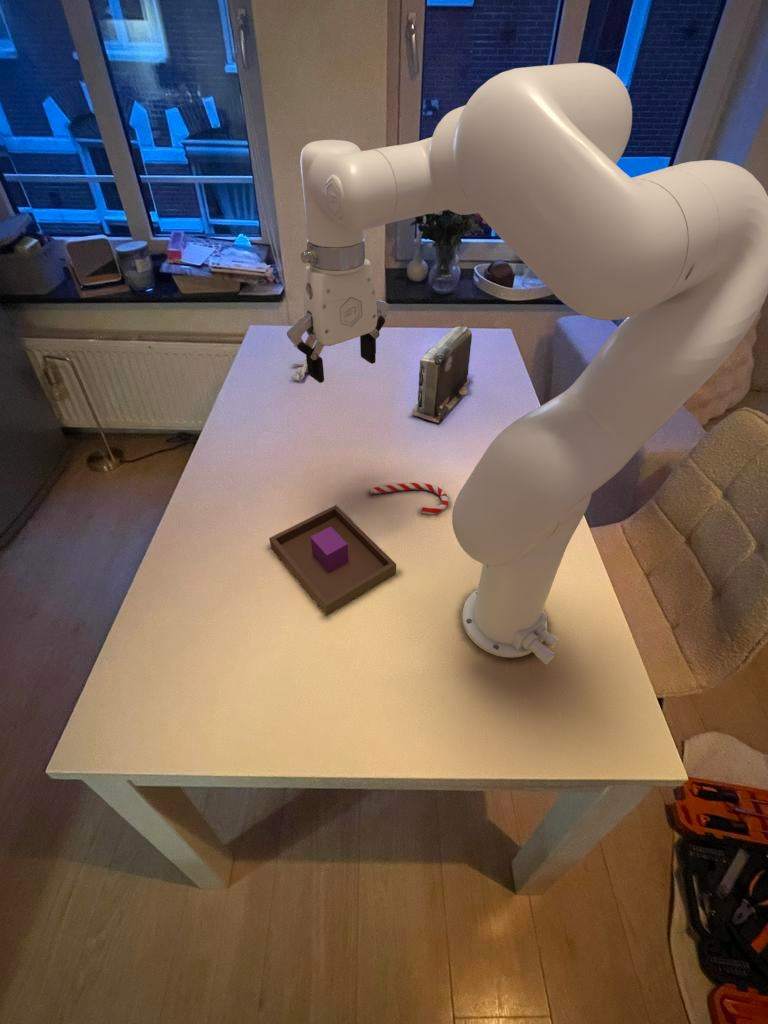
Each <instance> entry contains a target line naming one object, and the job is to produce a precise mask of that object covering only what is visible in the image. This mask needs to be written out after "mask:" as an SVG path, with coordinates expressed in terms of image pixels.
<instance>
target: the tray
mask: <svg viewBox="0 0 768 1024" xmlns="http://www.w3.org/2000/svg"><path fill="white" fill-rule="evenodd" d="M330 526H331V527H332V528H333V529H334V530H335V531H336V532H337V534H338V535H339V536H340V537H341V538H342V539H343V540H344V541H345V542H346V543H347V544H348V559H349V562H347V563H345V564H344V565H342V566H340V567H338V568H336V569H335V570H333V571H331V572H329V573H328V571H327V570H326V569H325V568H324V567H323V566H322V565H321V563H320V562H319V561H318V560H317V559H316V558H315V557H314V555H313V553H312V546H311V538H310V537H311V536H313V535H315V534H317V533H319V532H321V531H323V530H325V529H327V528H328V527H330ZM268 540H269V544H270V549H271V550H273V552H274V553H275V554H276V556H277V557H278V558H279V560H280V561H282V563H283V564H284V565H285V567H286V568H287V569H288V571H289V572H290V573H291V574H292V575H293V576H294V577H295V579H296V580H297V581H298V582H299V583H300V585H301V586H302V587H303V589H304V590H305V591H306V593H308V595H309V596H310V597H311V599H312V600H313V601H314V602H315V603H316V604H317V606H318V607H319V608H320V610H322V612H323V613H324V614H325V615H326V616H329V615H330V614H332V613H334V612H335V611H337V610H339V609H340V608H342V607H344V606H345V605H347V604H348V603H350V602H352V601H354V600H355V599H357V598H359V597H360V596H362V595H364V594H365V593H366V592H368V591H370V590H372V589H374V588H375V587H377V586H378V585H380V584H382V583H384V582H385V581H386V580H389V579H390V578H392V577H393V576H395V575H397V563H396V562H395V561H394V560H393V559H392V558H391V557H390V556H389V555H387V553H386V552H385V551H383V549H381V548H380V547H379V545H378V544H377V543H376V542H374V541H373V540H372V539H371V537H369V535H368V534H366V533H365V531H363V529H361V528H360V527H359V525H357V524H356V523H355V522H354V521H353V520H352V519H351V518H350V517H349V516H348V515H347V514H346V513H345V512H344V511H343V510H342V509H341V508H340V507H339V506H338V505H337V504H335V505H333V506H331V507H329V508H326V509H325V510H322V511H320V512H319V513H317V514H315V515H313V516H310V517H309V518H306V519H305V520H302V521H301V522H298V523H297V524H295V525H292V526H291V527H288V528H287V529H285V530H282V531H280V532H278V533H277V534H274V535H273V536H270V537H269V538H268Z"/></svg>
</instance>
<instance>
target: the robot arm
mask: <svg viewBox="0 0 768 1024" xmlns="http://www.w3.org/2000/svg"><path fill="white" fill-rule="evenodd" d="M631 101H632V100H631V98H630V94H629V92H628V89H627V88H626V86H625V84H624V82H623V80H621V79H620V78H619V76H618V75H617V74H616V73H614V71H612V70H611V69H608V68H607V67H604V66H602V65H599V64H595V63H591V62H572V63H559V64H548V65H535V66H526V67H517V68H515V67H514V68H512V69H509V70H505V71H502V72H500V73H498V74H496V75H494V76H493V77H491V78H489V79H488V80H487V81H486V82H484V83H483V84H482V85H480V87H479V88H477V90H475V92H474V93H473V94H472V95H471V97H470V98H469V99H468V101H467V102H466V104H465V105H462V106H459V107H457V108H454V109H452V110H451V111H449V112H447V113H446V114H445V115H444V116H443V117H442V118H441V119H440V121H439V122H438V123H437V125H436V127H435V128H434V131H433V134H432V136H431V137H428V138H427V137H426V138H425V139H424V138H423V139H421V140H417V141H414V142H410V143H403V144H397V145H396V144H395V145H389V146H386V147H385V146H384V147H379V148H378V147H377V148H373V149H368V150H361V149H360V147H359V146H358V145H357V144H356V143H354V142H351V141H347V140H344V139H343V140H341V139H321V140H315V141H311V142H309V143H307V144H306V145H304V146H303V148H302V149H301V153H300V172H301V173H300V174H301V183H302V195H303V205H304V214H305V215H304V216H305V229H306V239H307V242H306V250H305V251H301V252H300V260H301V262H302V263H303V264H308V265H307V266H306V267H305V273H304V283H303V286H304V287H303V311H304V315H303V316H302V317H301V318H300V319H299V320H298V321H296V322H295V324H293V326H291V327H290V328H289V329H288V330H287V331H286V336H287V338H288V339H289V340H290V342H291V344H293V347H295V349H297V350H298V351H299V352H301V353H302V354H304V355H305V359H307V369H308V372H307V373H308V375H309V377H310V378H313V379H314V380H315V381H316V382H317V383H319V384H321V383H324V381H325V373H324V361H323V360H324V359H323V358H322V356H320V355H321V353H322V351H323V349H324V347H331V346H335V345H339V344H342V343H344V342H347V341H350V340H353V339H356V338H359V342H360V343H359V347H360V350H359V351H360V357H361V358H362V359H363V360H365V361H366V362H368V363H369V364H372V365H373V364H376V361H377V360H376V359H377V358H376V354H377V339H378V338H379V337H380V331H381V329H382V328H383V326H384V325H385V323H386V319H385V318H386V317H387V315H388V313H389V310H390V304H389V303H387V302H386V301H383V300H381V299H377V293H376V286H375V279H374V273H373V268H372V265H371V262H370V260H369V259H367V258H366V249H365V248H366V245H365V241H366V240H365V231H366V230H369V229H374V228H377V227H381V226H385V225H388V224H392V223H395V222H400V221H404V220H408V219H412V218H417V217H421V216H425V215H430V214H435V213H439V212H443V211H450V212H452V213H454V214H457V215H460V216H461V215H462V216H468V215H475V214H478V215H479V216H480V218H481V219H483V221H484V222H485V223H486V224H487V226H488V227H489V228H491V230H492V231H493V232H494V233H495V234H496V235H497V236H498V237H499V238H500V239H501V240H502V241H503V242H504V243H505V244H506V246H507V247H509V248H510V250H511V251H512V252H513V253H514V254H515V255H516V256H517V257H518V258H519V259H520V260H521V261H522V262H523V263H524V264H525V266H527V268H528V269H529V270H530V271H531V272H532V273H533V274H534V276H536V277H537V279H539V280H540V282H541V283H543V284H544V286H545V287H546V288H547V289H548V290H549V291H550V292H551V293H552V294H553V295H554V296H555V297H556V298H557V299H558V300H559V301H560V302H561V303H563V304H564V305H565V306H567V307H568V308H570V309H571V310H573V311H574V312H576V313H578V314H579V315H581V316H584V317H587V318H589V319H592V320H598V321H606V322H607V321H617V320H623V321H622V322H621V323H620V324H619V325H618V326H617V328H615V330H614V331H613V332H612V333H611V334H610V335H609V337H608V338H607V339H606V340H605V341H604V343H603V344H602V345H601V346H600V348H599V350H598V351H597V353H596V355H594V358H593V359H592V360H591V361H590V363H589V364H588V365H587V366H586V368H585V369H584V370H583V371H582V373H581V374H580V375H579V376H578V378H577V379H576V380H575V381H574V382H573V383H572V384H571V385H570V386H569V387H568V388H567V389H566V390H564V391H563V392H561V393H560V394H558V395H557V396H555V397H553V398H552V399H550V400H548V401H547V402H545V403H544V404H542V405H540V406H538V407H537V408H535V409H533V410H532V411H530V412H528V413H526V414H525V415H523V416H521V417H519V418H517V419H516V420H515V421H513V422H512V423H511V424H509V425H508V426H507V427H505V428H504V429H503V430H502V431H500V433H499V434H498V435H497V436H495V438H494V439H493V440H492V442H491V443H490V444H489V446H488V447H487V448H486V450H485V452H484V453H483V455H482V456H481V458H480V459H479V461H478V462H477V464H476V466H475V467H474V469H473V470H472V471H471V473H470V475H469V477H468V478H467V479H466V481H465V483H464V484H463V486H462V487H461V489H460V491H459V492H458V494H457V496H456V498H455V500H454V504H453V507H452V513H451V514H452V515H451V516H452V517H451V521H452V522H451V523H452V529H453V533H454V535H455V538H456V540H457V543H458V544H459V546H460V548H461V549H462V550H463V551H464V552H465V553H466V554H467V556H469V557H470V558H471V559H473V560H474V561H476V562H478V563H480V564H482V568H481V572H480V575H479V576H480V577H479V581H478V586H477V589H476V590H474V591H473V592H472V593H471V594H469V596H468V597H467V598H466V600H465V601H464V605H463V608H462V614H461V620H462V625H463V628H464V631H465V632H466V634H467V636H468V637H469V638H470V640H471V641H472V642H473V643H474V644H475V645H476V646H478V648H480V649H482V650H483V651H485V652H486V653H489V654H491V655H494V656H497V657H502V658H511V659H513V658H520V657H524V656H528V655H530V654H531V653H533V654H534V655H535V656H536V658H538V659H539V660H540V661H541V662H542V663H543V664H545V665H548V664H550V663H551V661H552V660H553V659H554V658H555V656H556V653H554V652H553V651H552V650H551V649H550V648H548V647H547V646H546V645H544V644H543V642H545V643H546V644H547V645H548V646H550V647H551V648H554V647H555V646H556V645H557V644H558V642H559V639H558V638H556V636H554V635H553V634H552V633H550V632H549V631H548V616H547V615H546V613H545V610H544V608H545V605H546V603H547V600H548V597H549V595H550V592H551V590H552V587H553V583H554V581H555V578H556V575H557V572H558V570H559V568H560V565H561V563H562V560H563V558H564V554H565V552H566V550H567V547H568V545H569V544H570V541H571V539H572V537H573V535H574V534H575V532H576V530H577V528H578V527H579V525H580V523H581V521H582V520H583V518H584V516H585V514H586V512H587V510H588V508H589V505H590V502H591V499H592V495H593V493H594V492H596V491H597V490H598V489H599V488H601V487H602V486H603V485H605V484H606V483H607V482H609V481H610V480H611V479H612V478H613V477H615V476H616V475H617V474H618V473H619V472H620V471H622V469H624V467H625V466H626V465H627V464H628V462H630V461H631V459H632V458H633V457H634V456H635V454H636V453H638V452H639V450H640V449H641V448H642V447H643V446H644V445H645V444H646V443H647V442H648V441H649V440H651V438H652V437H653V436H654V435H655V434H656V433H657V432H658V431H660V429H661V428H662V427H663V426H664V425H665V424H666V423H667V422H669V420H670V419H671V418H672V417H674V415H675V414H677V412H678V411H679V410H680V409H681V408H682V407H683V406H684V404H685V403H686V402H687V401H688V400H689V399H690V398H691V397H692V396H693V395H694V394H695V393H697V391H698V390H699V389H700V388H701V387H703V385H704V384H705V383H706V382H707V381H708V380H709V379H710V378H711V377H712V376H713V375H714V374H715V373H716V372H717V370H718V369H719V368H720V367H721V366H722V365H723V364H724V363H725V362H726V360H727V359H728V358H729V357H730V356H731V354H732V353H733V352H734V351H735V350H736V348H737V347H738V345H739V344H740V343H741V341H742V340H743V339H744V338H745V336H746V334H747V333H748V331H749V330H750V329H751V327H752V325H753V324H754V322H755V320H756V319H757V317H758V315H759V314H760V311H761V309H762V307H763V306H764V304H765V301H766V299H767V296H768V193H767V191H766V190H765V188H764V186H763V185H762V183H760V181H759V180H758V179H757V178H756V177H755V175H753V174H752V173H751V172H750V171H748V170H747V169H746V168H744V167H743V166H740V165H739V164H735V163H732V162H729V161H725V160H715V159H706V160H705V159H704V160H695V161H687V162H682V163H679V164H675V165H671V166H668V167H664V168H661V169H657V170H654V171H650V172H648V173H644V174H639V175H636V176H633V177H631V176H630V175H628V174H627V173H626V172H624V170H622V169H621V168H620V167H619V166H618V165H617V164H618V162H619V160H620V159H621V157H622V156H623V154H624V153H625V149H626V147H627V145H628V142H629V140H630V137H631V136H630V135H631V132H632V127H633V126H632V125H633V106H632V102H631ZM305 333H306V334H307V335H308V336H307V338H306V339H305V341H303V338H302V337H303V335H304V334H305ZM313 346H314V347H313ZM312 347H313V349H312Z"/></svg>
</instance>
